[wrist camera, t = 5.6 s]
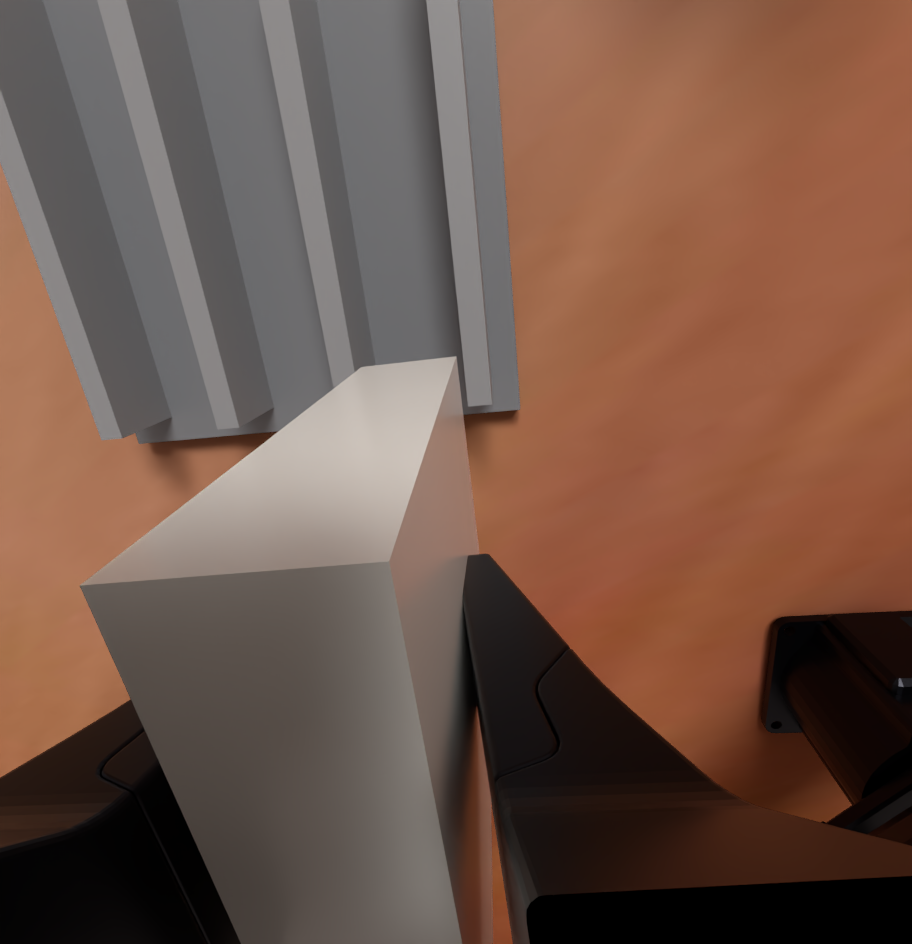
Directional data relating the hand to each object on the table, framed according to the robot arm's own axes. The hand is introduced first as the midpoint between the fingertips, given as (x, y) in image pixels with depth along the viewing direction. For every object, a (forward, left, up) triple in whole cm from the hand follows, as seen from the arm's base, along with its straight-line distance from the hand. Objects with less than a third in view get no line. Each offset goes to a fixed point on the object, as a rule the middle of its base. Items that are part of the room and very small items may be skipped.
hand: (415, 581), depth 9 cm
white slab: (0, 0, -3) cm, 3 cm away
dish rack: (+8, +6, -13) cm, 16 cm away
